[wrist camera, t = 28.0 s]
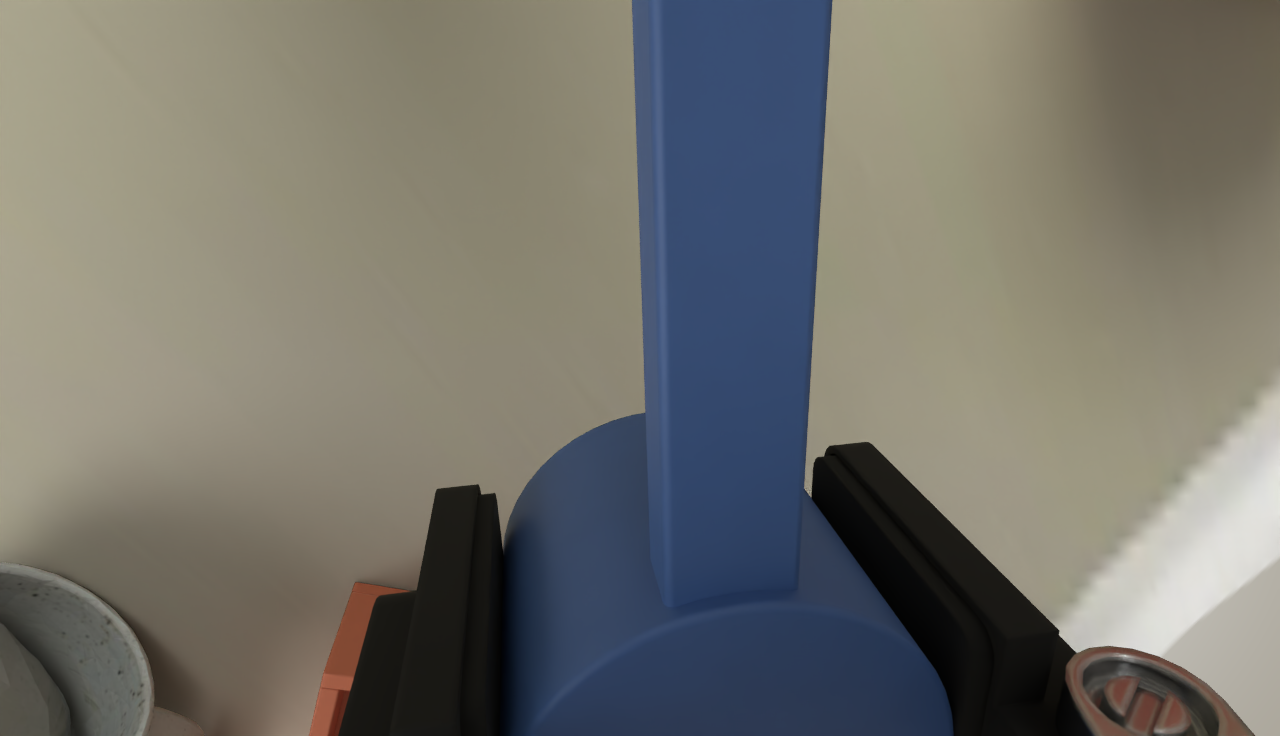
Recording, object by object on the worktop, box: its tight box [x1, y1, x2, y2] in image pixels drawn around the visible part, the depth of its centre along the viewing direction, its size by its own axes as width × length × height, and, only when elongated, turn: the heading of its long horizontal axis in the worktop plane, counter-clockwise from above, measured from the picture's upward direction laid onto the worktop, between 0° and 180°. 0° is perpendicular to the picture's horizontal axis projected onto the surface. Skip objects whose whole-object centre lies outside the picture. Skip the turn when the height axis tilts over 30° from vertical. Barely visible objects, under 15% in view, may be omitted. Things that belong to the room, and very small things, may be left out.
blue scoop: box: [500, 0, 954, 736], centre depth 8 cm, size 9×4×4 cm, turn 2°
